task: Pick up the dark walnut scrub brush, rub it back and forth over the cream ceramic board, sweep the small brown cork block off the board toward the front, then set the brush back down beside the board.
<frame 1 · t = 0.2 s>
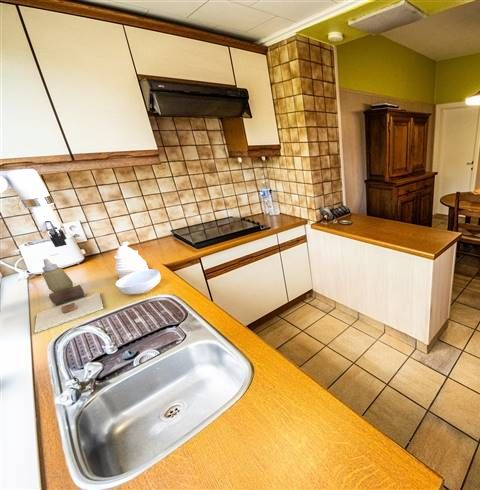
hand: (61, 242, 108), 30 cm above the worktop, tool pointing down, fingers open, 9 cm apart
board: (71, 311, 116), on the worktop
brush: (70, 300, 124), on the worktop
cereal bowl: (143, 290, 130), on the worktop
squeeze bottle: (64, 291, 132), on the worktop
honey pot: (134, 273, 146), on the worktop
cork block: (70, 310, 115), point 1 cm above the worktop, touching board
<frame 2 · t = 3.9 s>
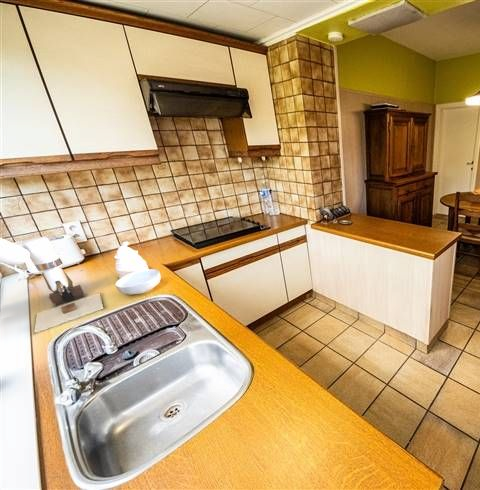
hand: (69, 298, 124), 1 cm above the worktop, tool pointing down, fingers closed on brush, 3 cm apart
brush: (70, 300, 124), on the worktop, touching gripper
everything else where it was.
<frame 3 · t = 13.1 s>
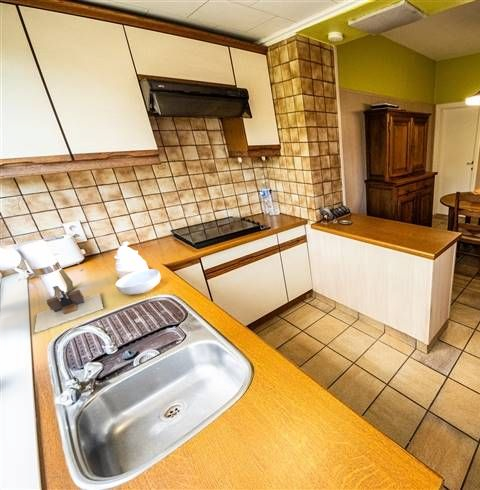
hand: (68, 304, 117), 2 cm above the worktop, tool pointing down, fingers closed on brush, 3 cm apart
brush: (69, 306, 118), point 1 cm above the worktop, touching gripper
cork block: (71, 310, 115), point 1 cm above the worktop, touching board, gripper
everything else where it was.
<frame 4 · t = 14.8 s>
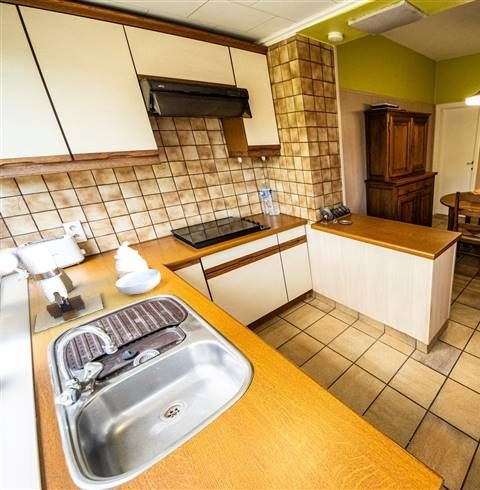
hand: (69, 310, 113), 2 cm above the worktop, tool pointing down, fingers closed on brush, 3 cm apart
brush: (70, 312, 114), point 1 cm above the worktop, touching gripper
cork block: (71, 317, 110), point 1 cm above the worktop, touching board
everything else where it was.
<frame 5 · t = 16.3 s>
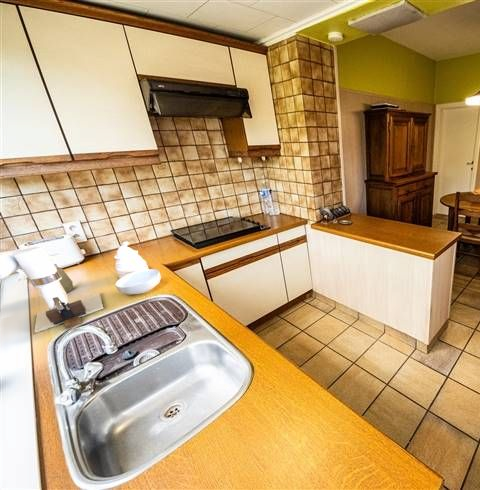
hand: (69, 316, 109), 2 cm above the worktop, tool pointing down, fingers closed on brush, 3 cm apart
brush: (70, 317, 110), point 1 cm above the worktop, touching gripper
cork block: (74, 324, 108), on the worktop, touching gripper
everything else where it was.
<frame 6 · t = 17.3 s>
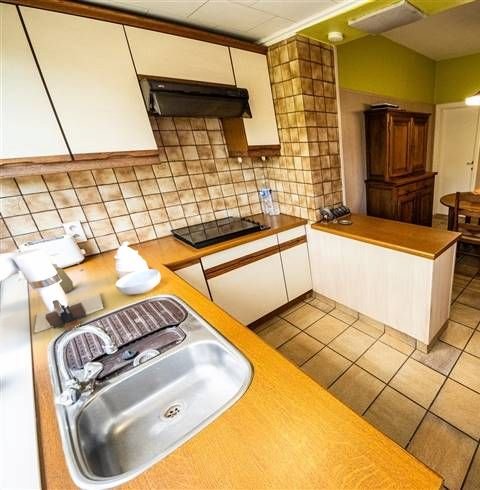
hand: (69, 319, 108), 2 cm above the worktop, tool pointing down, fingers closed on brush, 3 cm apart
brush: (70, 320, 108), point 1 cm above the worktop, touching gripper
cork block: (74, 327, 106), on the worktop, touching gripper
everything else where it was.
when the fingers open (1 cm above the worktop, at t = 23.8 s): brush stays where it is, on the worktop.
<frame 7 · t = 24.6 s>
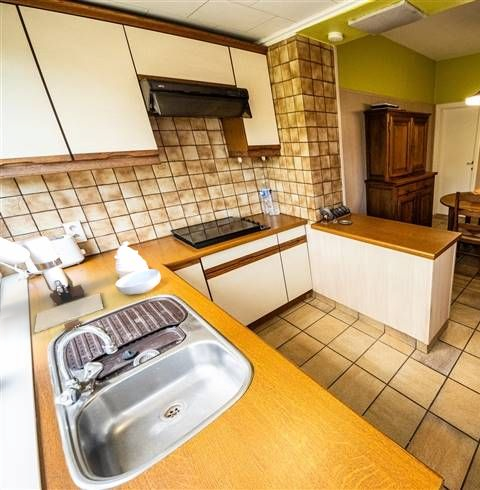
hand: (68, 296, 123), 2 cm above the worktop, tool pointing down, fingers open, 9 cm apart
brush: (71, 300, 124), on the worktop
cork block: (74, 327, 106), on the worktop
everything else where it was.
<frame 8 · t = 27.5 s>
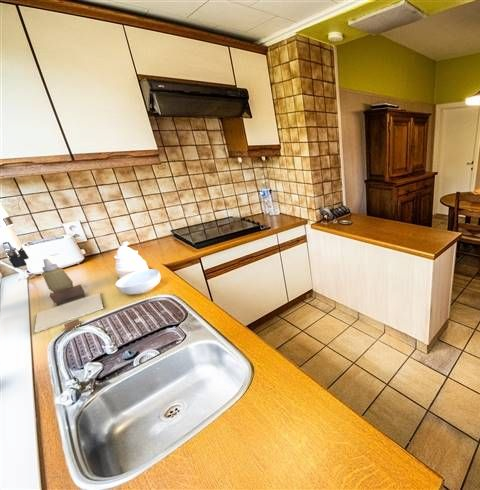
hand: (22, 262, 109), 23 cm above the worktop, tool pointing down, fingers open, 9 cm apart
nothing on the worktop moved.
at the end: cork block inside the target area (3.2 cm from its centre), on the worktop; the gripper is holding nothing; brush inside the target area (0.3 cm from its centre), on the worktop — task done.
